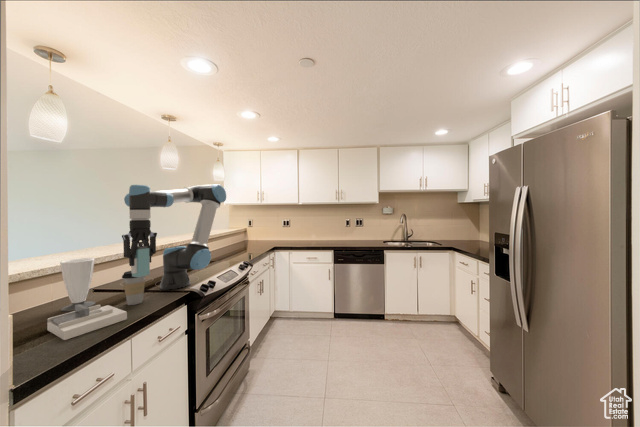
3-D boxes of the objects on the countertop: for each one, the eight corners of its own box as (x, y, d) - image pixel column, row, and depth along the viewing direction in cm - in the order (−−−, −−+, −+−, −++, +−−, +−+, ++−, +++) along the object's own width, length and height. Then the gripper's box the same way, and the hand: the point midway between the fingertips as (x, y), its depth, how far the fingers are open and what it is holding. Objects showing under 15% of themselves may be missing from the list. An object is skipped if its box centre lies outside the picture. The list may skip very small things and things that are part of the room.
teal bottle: (143, 273, 110) (142, 241, 110) (149, 274, 108) (149, 241, 108) (131, 276, 106) (131, 242, 106) (138, 277, 104) (138, 242, 104)
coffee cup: (133, 307, 109) (132, 274, 109) (116, 305, 111) (116, 273, 111) (151, 299, 119) (151, 269, 119) (136, 298, 121) (135, 269, 121)
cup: (52, 312, 105) (52, 263, 105) (74, 302, 116) (73, 258, 116) (83, 310, 107) (82, 261, 107) (101, 300, 118) (101, 257, 118)
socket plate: (108, 312, 104) (108, 301, 104) (127, 319, 97) (126, 308, 97) (47, 330, 88) (47, 318, 88) (64, 340, 81) (64, 327, 81)
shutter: (79, 313, 95) (79, 303, 95) (89, 317, 91) (89, 307, 91) (51, 321, 88) (51, 311, 88) (60, 326, 84) (60, 315, 84)
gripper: (154, 219, 117) (155, 267, 116) (111, 220, 100) (112, 275, 100) (165, 219, 114) (165, 268, 114) (122, 220, 97) (123, 277, 97)
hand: (140, 271), depth 107 cm, fingers closed on teal bottle, 5 cm apart
